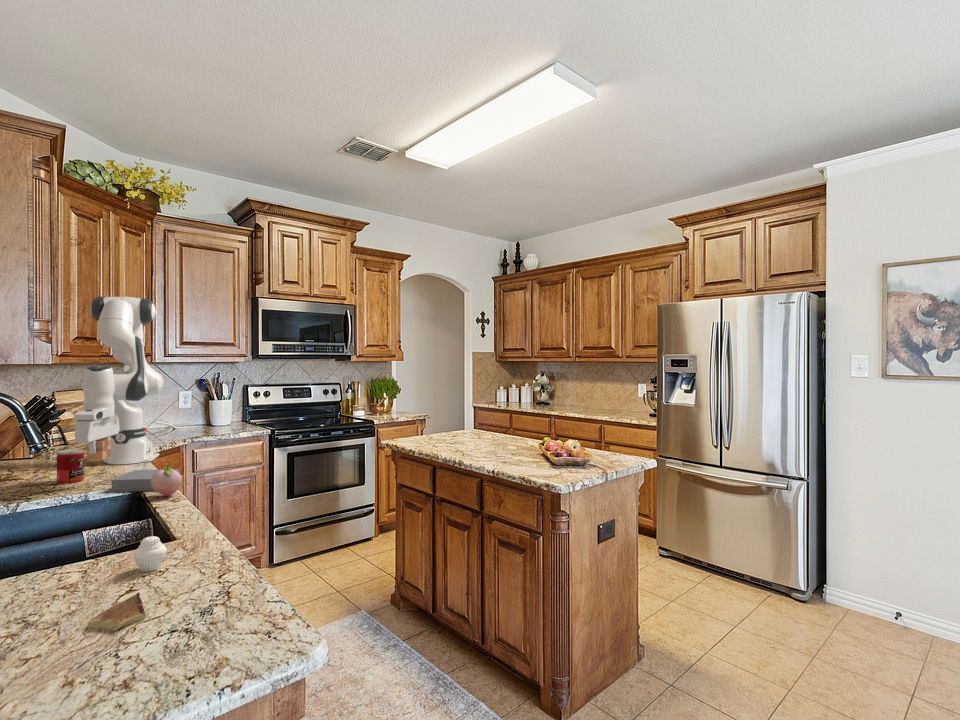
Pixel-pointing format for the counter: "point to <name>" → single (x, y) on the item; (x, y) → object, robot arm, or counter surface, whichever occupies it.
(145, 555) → the muffin
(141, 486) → the base slab
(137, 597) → the shard
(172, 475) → the decorative fruit
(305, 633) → the counter surface
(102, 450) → the terracotta block
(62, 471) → the canned food
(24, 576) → the counter surface
